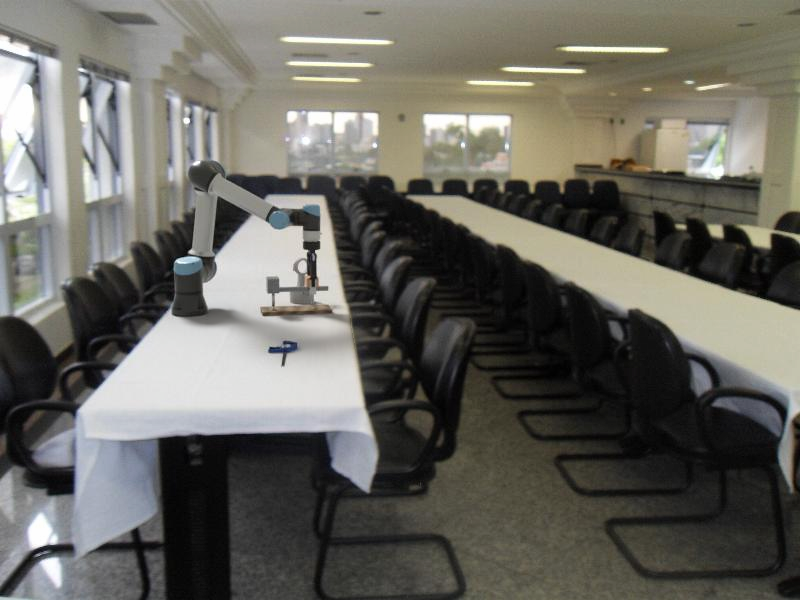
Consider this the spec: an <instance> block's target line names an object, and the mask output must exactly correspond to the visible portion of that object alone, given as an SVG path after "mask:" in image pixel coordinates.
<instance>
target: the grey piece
mask: <svg viewBox="0 0 800 600" xmlns="http://www.w3.org/2000/svg"><path fill="white" fill-rule="evenodd" d="M265 279H266V280H265V284H266V285H265V288H266V289H265V290H266V293H267V294H268V295H271V306H273V310H274V306H276V297H275V296H276V294H280V293H290V292H298V291H310V287H308V288H307V287H306V285H305V287H297V286H280V278H279V277H278V276H277V275H275V276H266V277H265ZM324 291H325V292H329V285H319V287H316V292H324Z"/></svg>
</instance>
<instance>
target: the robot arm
mask: <svg viewBox="0 0 800 600" xmlns="http://www.w3.org/2000/svg"><path fill="white" fill-rule="evenodd" d="M187 177H188V180H189V182H190V183H191V185H192V186H193V191H194V192H195V194H196V202H195V203H196V204H195V213H194V214H195V215H194V225H193V237H192V246H191V249H190V250H188V251H187V256H184V257H180V258H179V257H178V258H177V259H176V260H175V261H174V263H173V276H174V279H173V280H174V298H173V302H172V305H171V308H170V309H171V313H170V314H172V315H173V316H178V317H193V316H194V317H197V316H202V315H206V314H207V313H209V306H208V304H207V302H206V299H205V295H204V284H206V283H209V282H210V281H211V280H213V278H214V277H215V276H216V274H217V272H218V271H217V270H218V265H217V262H216V260H215V259H216V253H215V252H214V251H213V243H214V233H215V225H216V224H215V223H216V214H217V213H216V212H217V204H218V203H217V202H218V197H219V198H221V199H223V200H225V201H227V202H229V203H230V204H233V205H235V206H236V207H238V208H240V209H242V210H243V211H245V212H248V213H249V214H251V215H253V216H255V217H256V218H259V219H260V220H262V221H264V222H266V223H268V224H269V225H270V226H271V228H273V229H274V230H284V229H286V228H288V227H302V240H303V241H302V249H303V250H305V251H307V252H306V259H307V264H306V267H307V274H306V276H310V278H309V280H310V295H313V294H314V295H317V291H316V279H317V277H318V273H317V270H318V269H317V268H318V267H317V259H318V254H317V253H316V251H320V249H321V241H320V240H321V235H322V234H323V233H322V232H321V215H322V214H321V206H320V205H319V204H314V203H305V204H302V208H290V207H289V208H287V207H282V208H281V207H280V208H279V207H277V206H276V205H274V204H272V203H270V202H268V201H266V200H265V199H262V197H259V196H257V195H256V194H253V193H252V192H250V191H248V190H246V189H244V188H243V187H241V186H239V185H237V184H236V183H233V182H232V181H229V180H228V179H227V171H226V168H225V167H224V166H223V164H222V163H220V162H219V161H218V160H213V159H206V160H205V159H204V160H203V159H202V160H197V161H194V162H193V163H191V165H190V166H189V167H188V171H187Z"/></svg>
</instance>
